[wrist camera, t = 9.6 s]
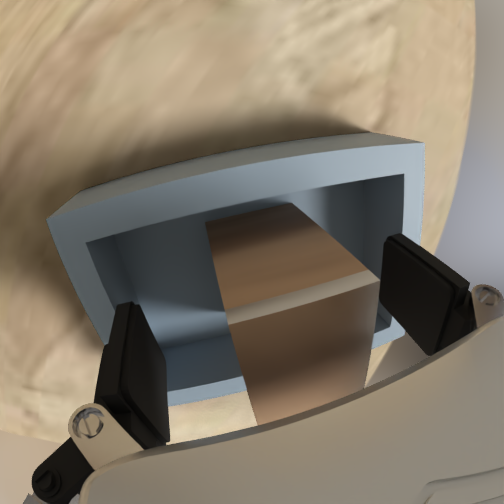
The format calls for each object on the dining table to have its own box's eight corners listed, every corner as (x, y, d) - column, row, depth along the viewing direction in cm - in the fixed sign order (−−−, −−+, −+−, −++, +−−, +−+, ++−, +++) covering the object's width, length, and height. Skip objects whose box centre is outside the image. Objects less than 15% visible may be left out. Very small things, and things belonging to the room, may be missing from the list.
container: (80, 190, 12) (45, 219, 8) (371, 132, 13) (424, 142, 10) (149, 356, 16) (147, 409, 13) (370, 298, 18) (404, 335, 15)
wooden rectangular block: (204, 222, 13) (228, 324, 7) (291, 202, 13) (380, 280, 7) (226, 312, 15) (258, 427, 9) (300, 292, 16) (363, 391, 9)
